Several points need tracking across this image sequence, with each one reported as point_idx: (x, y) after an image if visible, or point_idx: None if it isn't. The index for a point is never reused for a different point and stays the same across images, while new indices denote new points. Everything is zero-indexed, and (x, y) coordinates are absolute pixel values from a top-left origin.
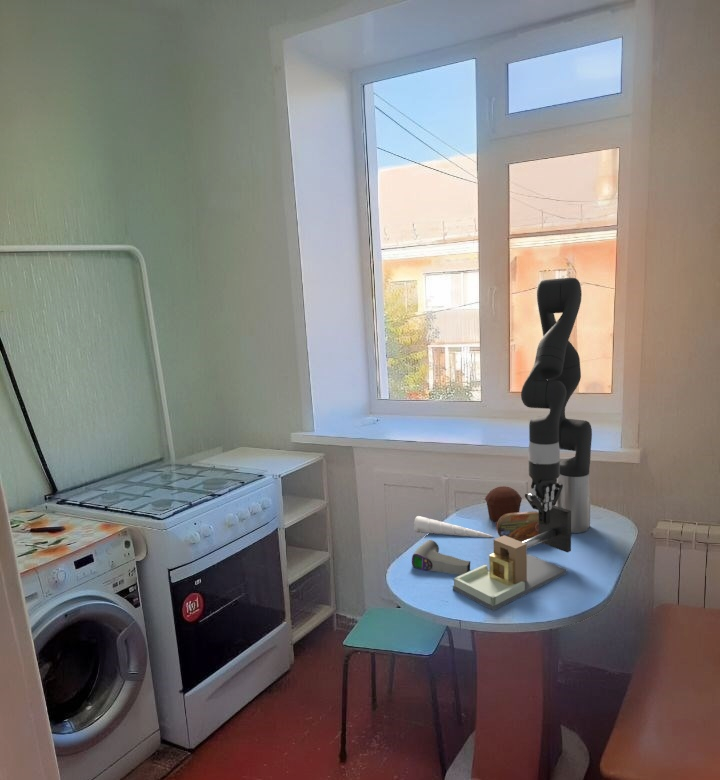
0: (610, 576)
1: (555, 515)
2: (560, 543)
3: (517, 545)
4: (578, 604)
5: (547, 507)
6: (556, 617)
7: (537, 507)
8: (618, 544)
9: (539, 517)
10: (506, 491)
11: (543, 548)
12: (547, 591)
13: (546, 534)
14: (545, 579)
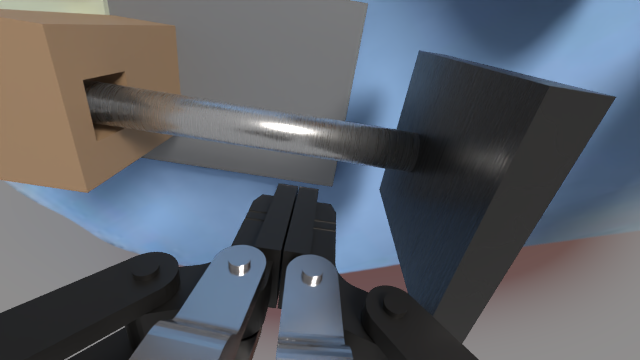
0: (384, 261)
1: (437, 226)
2: (392, 174)
3: (30, 168)
4: (209, 256)
5: (256, 343)
6: (127, 245)
7: (90, 349)
8: (620, 215)
9: (247, 220)
10: None
11: (484, 23)
12: (203, 186)
13: (342, 159)
14: (232, 168)
